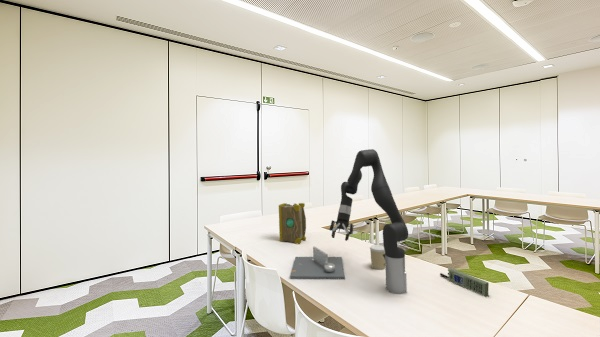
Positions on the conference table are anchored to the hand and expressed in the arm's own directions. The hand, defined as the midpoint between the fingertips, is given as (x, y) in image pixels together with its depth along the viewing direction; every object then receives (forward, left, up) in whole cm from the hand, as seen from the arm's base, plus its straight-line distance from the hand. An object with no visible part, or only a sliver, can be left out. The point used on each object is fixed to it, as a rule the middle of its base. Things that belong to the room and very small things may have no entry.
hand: (339, 239), depth 173 cm
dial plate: (+13, +5, -16) cm, 22 cm away
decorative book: (+34, -49, -16) cm, 62 cm away
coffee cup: (-23, +3, -16) cm, 28 cm away
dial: (+10, +6, -14) cm, 19 cm away
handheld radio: (-60, +26, -16) cm, 67 cm away
